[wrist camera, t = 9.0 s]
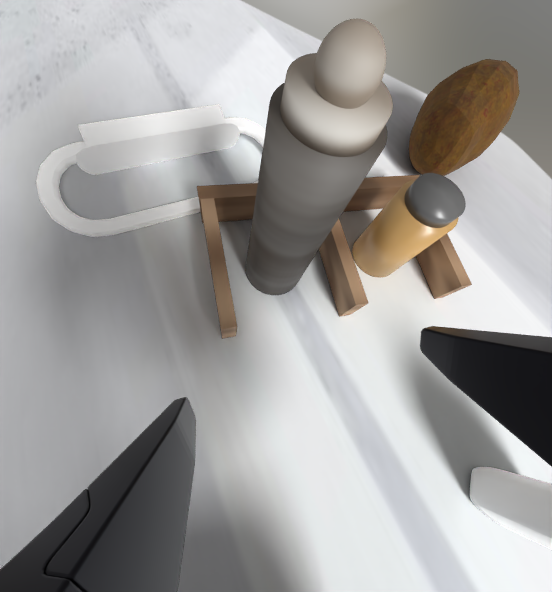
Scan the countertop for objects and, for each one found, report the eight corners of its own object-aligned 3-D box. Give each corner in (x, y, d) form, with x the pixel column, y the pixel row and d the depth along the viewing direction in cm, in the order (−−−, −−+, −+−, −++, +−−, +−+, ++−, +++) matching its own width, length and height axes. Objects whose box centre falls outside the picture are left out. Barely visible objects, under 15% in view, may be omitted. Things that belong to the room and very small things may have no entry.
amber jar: (403, 273, 24) (482, 221, 17) (361, 280, 23) (425, 227, 16) (387, 233, 25) (453, 167, 18) (346, 237, 24) (398, 169, 17)
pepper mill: (297, 299, 21) (451, 98, 7) (241, 290, 21) (276, 49, 6) (301, 250, 23) (431, 5, 8) (249, 240, 22) (292, -41, 8)
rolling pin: (71, 256, 21) (45, 241, 17) (34, 163, 21) (0, 129, 18) (287, 196, 27) (300, 176, 23) (258, 124, 27) (266, 92, 23)
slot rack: (444, 296, 24) (472, 284, 21) (220, 338, 19) (219, 329, 16) (399, 197, 27) (419, 175, 24) (200, 211, 22) (196, 186, 20)
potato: (370, 145, 29) (424, 50, 21) (432, 115, 33) (498, 27, 25) (422, 199, 28) (501, 120, 20) (481, 161, 32) (567, 83, 24)
